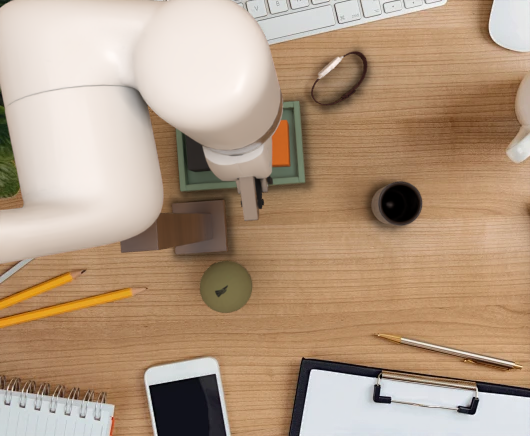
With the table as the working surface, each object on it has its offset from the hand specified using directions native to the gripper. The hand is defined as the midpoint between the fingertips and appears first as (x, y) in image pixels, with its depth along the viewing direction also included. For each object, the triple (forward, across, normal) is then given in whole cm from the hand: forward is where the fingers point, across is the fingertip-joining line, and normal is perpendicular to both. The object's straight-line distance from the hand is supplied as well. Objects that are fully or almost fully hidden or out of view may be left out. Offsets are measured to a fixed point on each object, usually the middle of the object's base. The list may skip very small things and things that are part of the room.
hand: (253, 133), depth 61 cm
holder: (+12, 0, -2) cm, 12 cm away
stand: (+12, +9, -8) cm, 17 cm away
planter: (+11, +8, +14) cm, 20 cm away
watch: (+11, -7, +10) cm, 16 cm away
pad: (+11, 0, -6) cm, 12 cm away
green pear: (+12, +15, -4) cm, 20 cm away
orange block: (+11, 0, +1) cm, 11 cm away
